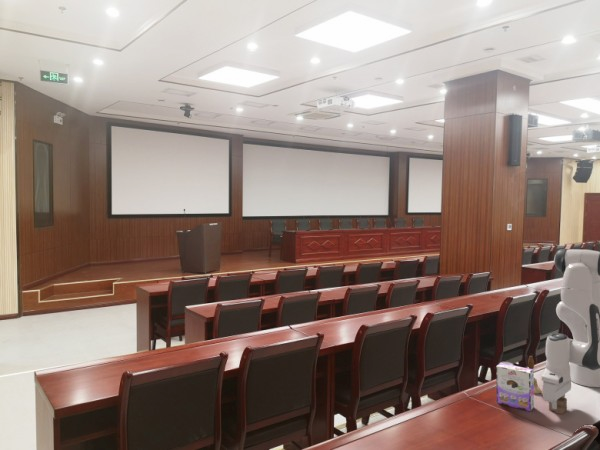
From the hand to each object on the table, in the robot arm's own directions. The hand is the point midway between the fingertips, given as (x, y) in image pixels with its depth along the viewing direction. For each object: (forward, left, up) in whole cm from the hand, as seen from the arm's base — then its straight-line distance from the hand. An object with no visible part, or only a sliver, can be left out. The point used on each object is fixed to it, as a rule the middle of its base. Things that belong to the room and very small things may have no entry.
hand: (558, 406), depth 180 cm
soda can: (-6, -24, -2) cm, 25 cm away
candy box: (+8, -14, -2) cm, 16 cm away
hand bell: (-13, -16, -2) cm, 21 cm away
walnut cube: (0, 0, -2) cm, 2 cm away
